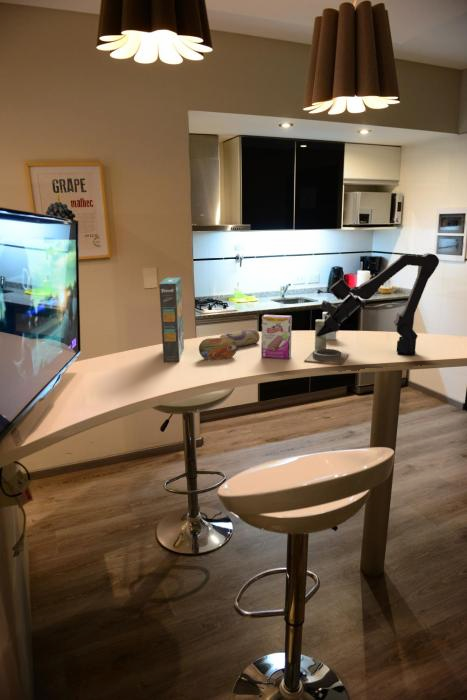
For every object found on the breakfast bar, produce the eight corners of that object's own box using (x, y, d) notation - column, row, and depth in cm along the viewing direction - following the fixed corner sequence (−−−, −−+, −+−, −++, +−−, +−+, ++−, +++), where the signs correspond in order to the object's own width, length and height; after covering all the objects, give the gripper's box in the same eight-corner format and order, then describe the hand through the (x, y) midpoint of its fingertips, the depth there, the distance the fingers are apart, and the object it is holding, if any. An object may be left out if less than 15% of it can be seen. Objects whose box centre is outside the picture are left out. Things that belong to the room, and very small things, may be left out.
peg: (326, 349, 191) (327, 319, 188) (325, 351, 187) (326, 321, 184) (315, 348, 192) (316, 319, 189) (314, 351, 188) (315, 321, 185)
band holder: (348, 355, 181) (348, 349, 180) (342, 365, 168) (342, 358, 168) (312, 352, 186) (313, 346, 185) (304, 361, 173) (304, 355, 173)
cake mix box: (169, 348, 197) (166, 277, 190) (184, 348, 197) (180, 277, 190) (163, 362, 176) (159, 283, 169) (179, 362, 176) (175, 283, 169)
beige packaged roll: (249, 341, 208) (249, 326, 206) (260, 344, 202) (260, 329, 200) (202, 351, 192) (201, 335, 191) (212, 354, 187) (212, 338, 185)
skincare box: (335, 337, 211) (336, 311, 208) (336, 339, 207) (337, 313, 204) (321, 337, 212) (322, 311, 209) (322, 339, 208) (323, 313, 205)
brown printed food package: (200, 361, 177) (199, 339, 175) (198, 359, 180) (197, 338, 178) (237, 357, 181) (237, 336, 179) (235, 355, 184) (235, 335, 182)
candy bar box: (261, 358, 180) (260, 316, 176) (263, 354, 184) (263, 314, 180) (289, 359, 177) (290, 317, 173) (291, 356, 182) (292, 315, 177)
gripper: (332, 290, 192) (305, 316, 197) (331, 297, 174) (302, 325, 179) (351, 309, 192) (323, 334, 197) (352, 318, 174) (321, 345, 180)
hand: (317, 334), depth 188 cm, fingers closed on peg, 4 cm apart
